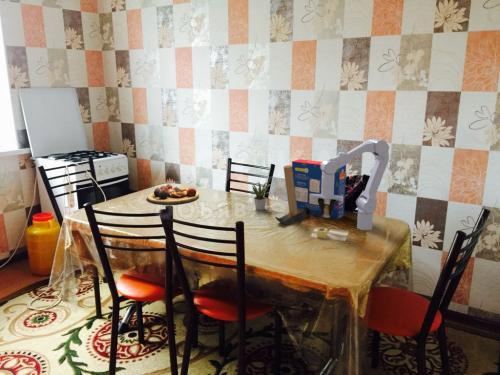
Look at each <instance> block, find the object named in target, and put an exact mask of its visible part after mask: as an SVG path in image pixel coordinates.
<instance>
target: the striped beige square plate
mask: <svg viewBox="0 0 500 375" xmlns="http://www.w3.org/2000/svg"><path fill="white" fill-rule="evenodd" d="M319 228H320V227H315V228H314V229H313V231H312V232H311V234H310V235H309V238H313V239H319V238H318V237H317V230H318V229H319ZM327 229H328V234H327V237H326V238H321V239H324V240H330V241H331V240H332V241H339V242H340V241H341V242H346V240H347V237H348V235H349V233H350V231H349V230H341V229H333V228H327Z"/></svg>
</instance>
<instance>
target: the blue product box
mask: <svg viewBox="0 0 500 375" xmlns="http://www.w3.org/2000/svg"><path fill="white" fill-rule="evenodd" d="M322 162H323V161H318V160H311V159H310V160H309V159H300V158H299V159H295V160H292V161H291V166H292V171H293V179H294V187H295V196H296V204H297V209H298V208H300V209H303V208H304V207H308V208H309V210H310V214H309V215H312V216H317V217H322V218H324V217H323V215H322V213H321V208H320V206H319V203H318V199H311V198H312V194H321V185H322V170H321V169H320V166H321V164H322ZM346 175H347V164H346V165H344V166H343V167H341V168H339V169H337V171H336V172H335V173H334V195H337V196H343V201H338V200H337V201H336V203H335V205H334V207H333V210H332V214H331V215H330V217H329V218H328V219H336V220H339V219H341V218H343V217H344V216H345V200H346V199H345V197H346V180H347V178H346V177H347V176H346ZM330 201H331V200H326V199H325V200H324V204H330Z"/></svg>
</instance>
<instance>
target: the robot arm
mask: <svg viewBox="0 0 500 375" xmlns="http://www.w3.org/2000/svg"><path fill="white" fill-rule="evenodd" d="M389 150H390V146H389V143H388V142H387V141H386V140H384V139H378V138H376V137H370V138H369V139H367V140H365V141H364V142H363V143H360V144H359V145H358V146H355V147H354V148H352V149H351V150H349V151H347V152H344V151H342V152H341V151H339V152H338V154H337V155H335V156H333V157H329V159H328V160H323V161H321V162H322V164H321V166H320V169H321V170H322V185H321V194H312V198H311V199H318V203H319V206H320V208H321V213H322V215H323V211H324V200H325V199H326V200H331V201H330V212H329V215H331V214H332V210H333V207H334V205H335V203H336V201H337V200H338V201H343V196H337V195H334V173H335V172H336V171H337V169H339V168H341V167H343V166H344V165H346V166H347V165H348V164H350V162H351V160H352V159H354V158H357V157H358V156H360V155H362V154H364V153H371V154H373V157H374V159H375V162H374V165H373V167H372V170H371V173H370V175H369V179H368V181H367V183H366V186H365V189H364V191H362V192H361V193H360V195H359V196H358V198H356V200H355V204H356V208H358V209H357V220H356V228H357V230H361V231H371V230H373V225H374V224H373V223H374V213H375V211H376V210H377V201H378V198H377V193H378V189H379V187H380V184H381V182H382V180H383V176H384V174H385V171H386V169H387V166H388V163H389V161H390V154H389Z"/></svg>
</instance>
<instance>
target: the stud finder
mask: <svg viewBox="0 0 500 375" xmlns="http://www.w3.org/2000/svg"><path fill="white" fill-rule="evenodd" d="M318 228H319V229H318V230H317V237H318V238H317V239H322V238H326V237H327V234H328V229H329V228H324V227H318Z"/></svg>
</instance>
